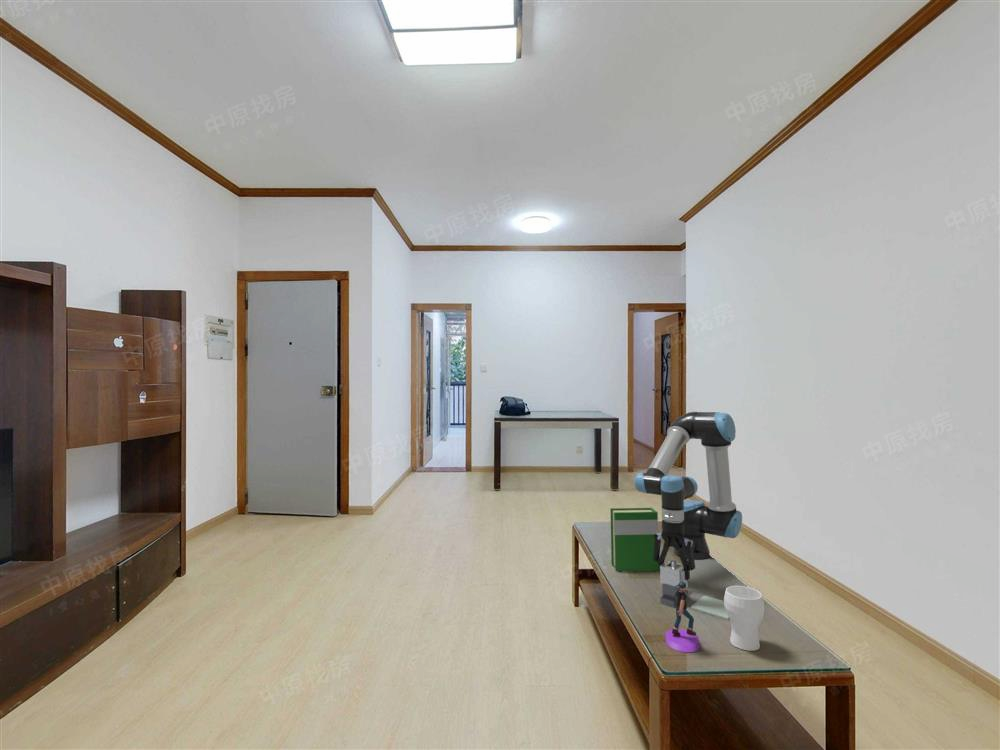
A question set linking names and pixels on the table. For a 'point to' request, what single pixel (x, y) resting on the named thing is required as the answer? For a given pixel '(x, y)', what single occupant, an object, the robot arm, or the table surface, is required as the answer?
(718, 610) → the mat
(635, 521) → the hardback book
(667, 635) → the figurine
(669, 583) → the grey hollow block
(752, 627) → the cup
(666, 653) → the table surface
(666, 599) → the vise
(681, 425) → the robot arm
